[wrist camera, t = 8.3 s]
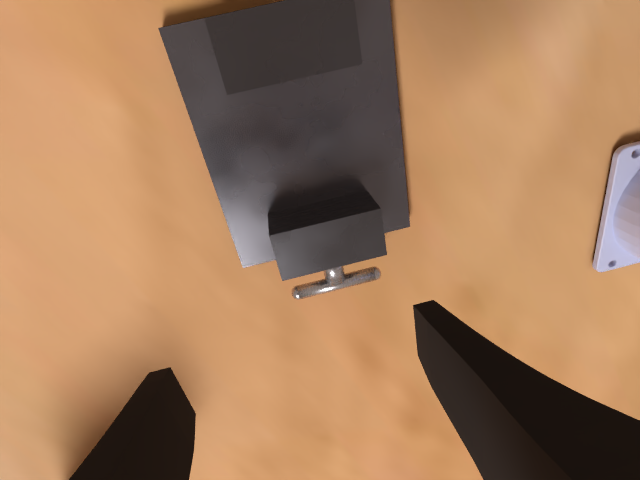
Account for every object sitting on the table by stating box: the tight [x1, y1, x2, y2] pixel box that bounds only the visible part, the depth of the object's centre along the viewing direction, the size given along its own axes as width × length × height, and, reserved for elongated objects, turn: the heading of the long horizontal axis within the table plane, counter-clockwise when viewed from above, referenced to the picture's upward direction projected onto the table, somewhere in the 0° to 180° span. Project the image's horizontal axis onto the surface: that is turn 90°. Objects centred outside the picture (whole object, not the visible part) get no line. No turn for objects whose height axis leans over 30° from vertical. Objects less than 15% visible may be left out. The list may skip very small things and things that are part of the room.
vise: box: [158, 0, 410, 299], centre depth 17 cm, size 9×13×3 cm
